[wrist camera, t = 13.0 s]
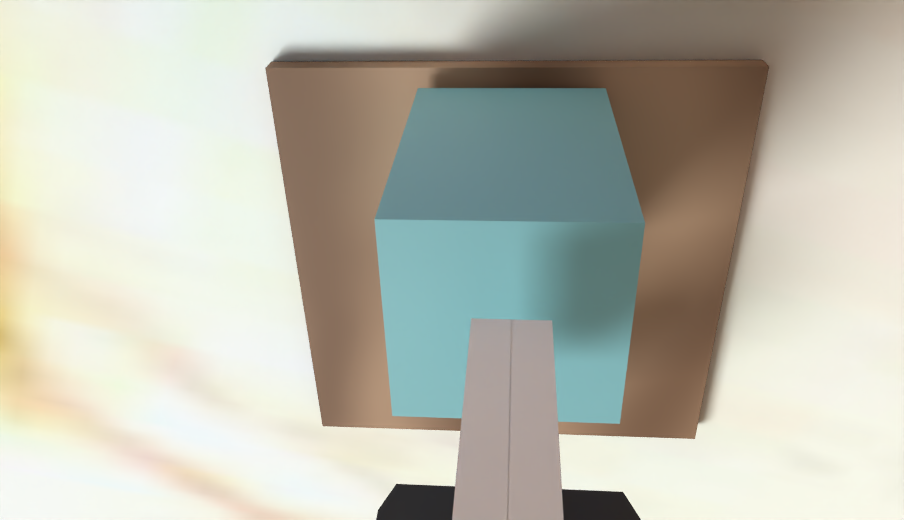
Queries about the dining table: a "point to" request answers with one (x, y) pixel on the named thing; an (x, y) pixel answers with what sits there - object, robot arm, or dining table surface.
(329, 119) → the stand
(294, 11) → the dining table surface
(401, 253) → the teal rectangular prism
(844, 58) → the dining table surface
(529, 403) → the robot arm
